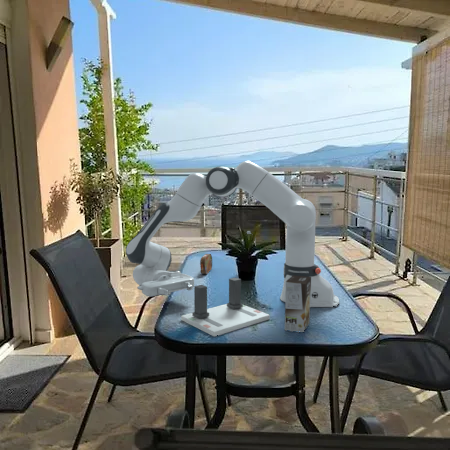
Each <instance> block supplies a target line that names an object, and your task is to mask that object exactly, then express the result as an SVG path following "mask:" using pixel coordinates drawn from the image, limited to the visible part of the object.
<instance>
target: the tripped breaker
mask: <svg viewBox="0 0 450 450" xmlns="http://www.w3.org/2000/svg"><path fill="white" fill-rule="evenodd" d="M193 289H194V299H193V300H194V306H193V307H194V311H192V312H191V313H192V316H194V317H196V318H198V319H201V318H205V317H209V313H208V312H207V309H208V286H206V285H203V284H199V285H194V287H193Z"/></svg>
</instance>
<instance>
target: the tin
mask: <svg viewBox="0 0 450 450" xmlns="http://www.w3.org/2000/svg"><path fill="white" fill-rule="evenodd" d="M199 264H200V273H201V274H202V275H208V274H209V273H210V272H211V271H212V269H213V257H212V253H205V254H204V255H203V256H201V258H200V260H199ZM210 270H211V271H210ZM209 271H210V272H209Z"/></svg>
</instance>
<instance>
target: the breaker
mask: <svg viewBox="0 0 450 450" xmlns="http://www.w3.org/2000/svg"><path fill="white" fill-rule="evenodd" d="M241 300H242V279H241V278H238V277H231V278H228V303H226V304H227V307H229V308H232V309H238V308H241V307H243V305H244V304H243V303H242V301H241Z"/></svg>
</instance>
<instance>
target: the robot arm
mask: <svg viewBox="0 0 450 450" xmlns="http://www.w3.org/2000/svg"><path fill="white" fill-rule="evenodd" d="M179 186H180V187H179V188H178V189H177V190H176V192H175V195H173V197H172V198H171V199H170V200H169V201H167V202H166V203H162V204H160V205H159V206H158V207H157V208H156V210H155V211H153V213H152V214H151V215H150V217H149V218H148V220H147V221H146V222H145V223H144V225H142V228H140V230H139V232H137V234H136V235H135V236H134V237H132V239H131V240H130V241H129V242H128V243H127V245H126V247H125V254H126V258H127V259H128V261H129V262H130V263H132V264H137V265H136V266H135V268H134V269H133V270H132V278H133V280H134V282H135V283H136V284H137V285H138V286H136V287H137V290H139V291H141V293H142V294H143V295H144V296H146V297H156V296H160V295H165V296H170V295H171V293H174V292H178V291H183V290H187V291H193V289H194V286H195V277H193V276H191V275H188V274H186V273H181V271H180V270H169V269H170V267H171V265H172V258H173V257H172V253H171V250H170V249H169V248H168V247H167V246H164V245H163V244H162V245H161V244H159V243H155V242H153V241H151V240H152V239H153V237H154V236H155V234H156V233H157V232H159V231H158V230H159V229H160V228H161V227H162V226H163V225H164V224H167V223H171V222H173V223H174V222H187V221H191V220H193V219H194V218H195V217H196V216H197V214H198V213H199V210H200V209H201V207H202V206H203V204H204V201H205V200H206V199H207V197H209V196H210V195H213V196H218V197H222V198H223V197H230V196H232V195H233V194H234V193H235V192H236V190H237V189H241V190H243V191H245V192H246V193H248V194H249V195H250V196H252V197H253V198H254V199H256V200H257V201H259V202H260V203H261V204H262V205H264V206H265V207H266V208H268V209H269V210H270V211H271V212H272V213H273V214H274V215H275V216H277V217H278V218H279V220H281V221H282V222H283V223H284V224H286V236H285V237H286V238H285V255H284V257H285V258H284V260H285V261H284V263H283V285H282V289H281V294H280V296H279V298H280V300H281V301H282V302H284V303H285V299H286V281H287V280H288V279H289V278H291V277H292V276H293V275H294V276H306V277H311V295H310V308H334V307H333V306H336V307H338V306H339V305H340V299H339V297H338V296H337V295H336V294H335V293H334V292H335V291H334V289H333V286H332V284H331V283H330V281H328V280H327V279H325V278H324V277H323V276H322V275H320V274H321V273H322V270H321V268H320V266H319V265H317V264H315V254H316V251H315V250H316V220H317V219H316V218H317V209H316V207H315V204H314V203H312V201H310V200H309V199H306V198H302V196H300V195H299V194H297V193H296V192H295V191H294V190H293V189H291V188H290V187H289V186H288V185H287V184H286V183H284V182H282V181H281V180H280V179H279V178H277V177H276V176H275V175H273V174H272V173H270V172H269V171H268V170H266V169H265V168H263V167H262V166H260V165H258V164H256V163H254V162H253V161H250V160H244V161H242V162H239V164H238V165H237V166H236V168H234V167H227V166H215V167H213V168H211V169H210V170H209V171H208V172H207V175H204V174H202V173H199V172H192V173H190V174H189V175H188V176H187V177H186V178H185V179H183V182H182V183H181V184H180V185H179ZM338 304H339V305H338ZM337 305H338V306H337Z"/></svg>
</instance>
